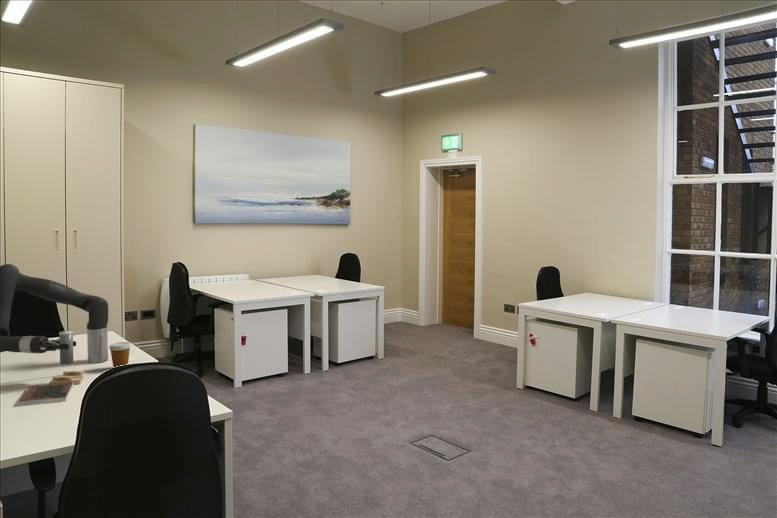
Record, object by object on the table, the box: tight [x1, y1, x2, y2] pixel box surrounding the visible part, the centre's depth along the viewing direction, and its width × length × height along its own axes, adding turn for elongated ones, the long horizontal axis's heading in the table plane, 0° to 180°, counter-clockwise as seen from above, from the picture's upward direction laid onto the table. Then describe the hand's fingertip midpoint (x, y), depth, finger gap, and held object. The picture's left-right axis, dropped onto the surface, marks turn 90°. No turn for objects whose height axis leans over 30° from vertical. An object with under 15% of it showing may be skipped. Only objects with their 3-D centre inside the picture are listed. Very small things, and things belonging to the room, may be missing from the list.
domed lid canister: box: [58, 330, 74, 365], centre depth 247 cm, size 5×5×14 cm
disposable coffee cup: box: [108, 341, 132, 367], centre depth 271 cm, size 10×10×12 cm
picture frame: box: [17, 382, 75, 407], centre depth 230 cm, size 16×2×22 cm
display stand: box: [50, 370, 84, 386], centre depth 248 cm, size 12×11×4 cm
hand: (72, 345), depth 247 cm, fingers closed on domed lid canister, 5 cm apart
